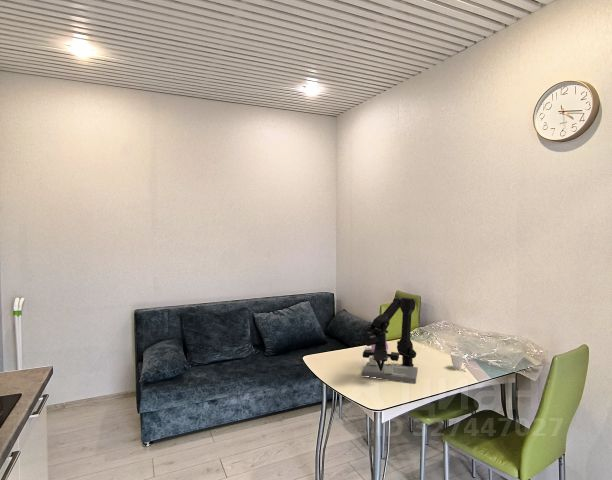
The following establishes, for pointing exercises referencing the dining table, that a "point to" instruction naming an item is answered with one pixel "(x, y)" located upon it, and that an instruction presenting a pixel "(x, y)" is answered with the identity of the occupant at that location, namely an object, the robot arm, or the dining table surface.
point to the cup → (457, 360)
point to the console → (398, 373)
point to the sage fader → (388, 368)
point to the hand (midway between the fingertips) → (381, 370)
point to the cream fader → (372, 361)
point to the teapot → (374, 346)
